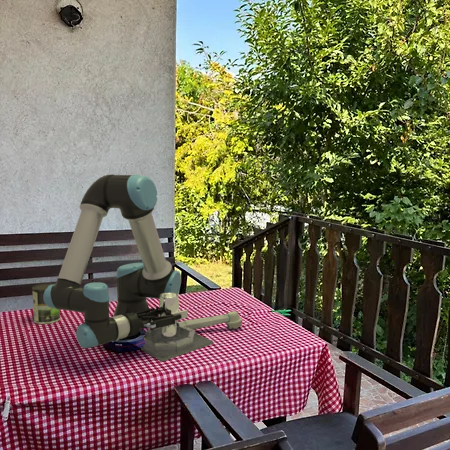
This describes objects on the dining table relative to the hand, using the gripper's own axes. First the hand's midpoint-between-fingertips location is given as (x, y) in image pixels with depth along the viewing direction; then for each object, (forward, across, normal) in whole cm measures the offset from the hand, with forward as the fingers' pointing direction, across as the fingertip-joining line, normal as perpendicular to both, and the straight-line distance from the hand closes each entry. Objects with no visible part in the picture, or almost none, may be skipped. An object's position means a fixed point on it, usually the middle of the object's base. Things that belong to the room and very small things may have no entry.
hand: (180, 311), depth 165 cm
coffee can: (-28, -53, -11) cm, 61 cm away
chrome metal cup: (-5, 0, -8) cm, 10 cm away
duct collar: (-5, 0, -11) cm, 12 cm away
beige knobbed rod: (+13, +1, -10) cm, 17 cm away
